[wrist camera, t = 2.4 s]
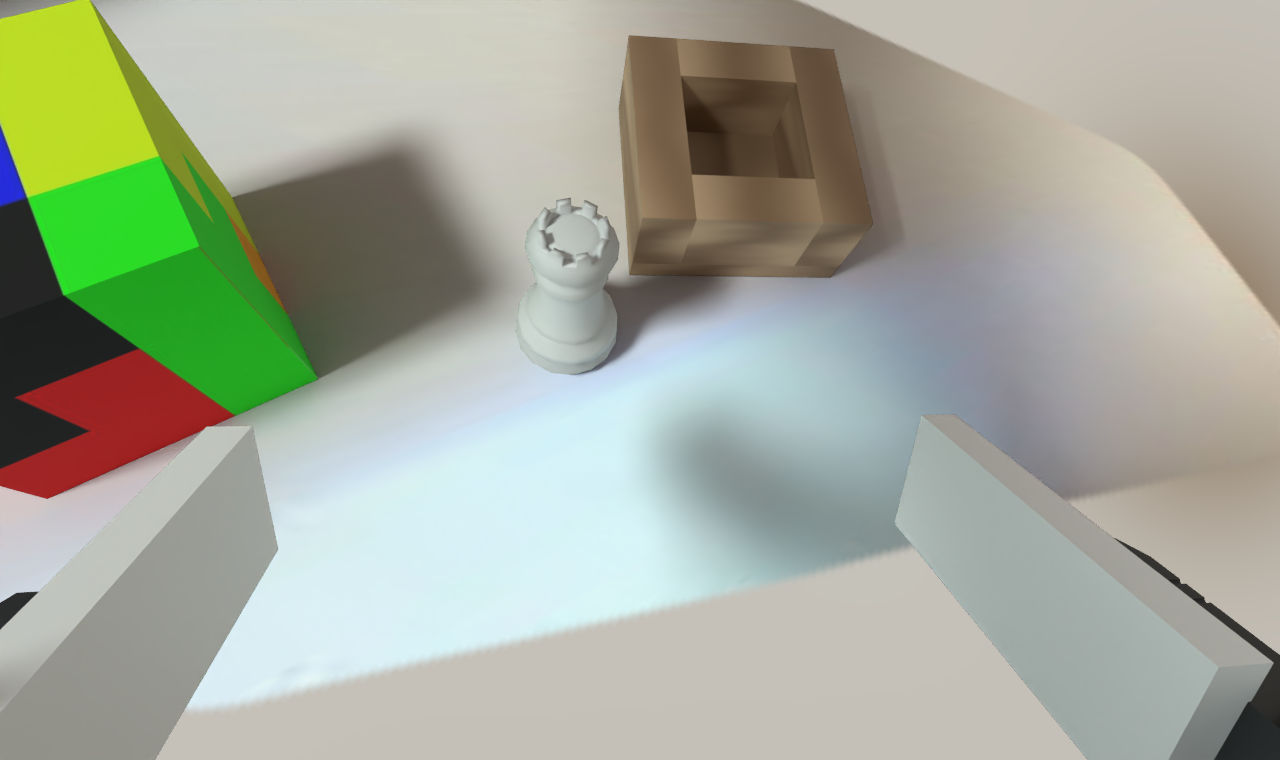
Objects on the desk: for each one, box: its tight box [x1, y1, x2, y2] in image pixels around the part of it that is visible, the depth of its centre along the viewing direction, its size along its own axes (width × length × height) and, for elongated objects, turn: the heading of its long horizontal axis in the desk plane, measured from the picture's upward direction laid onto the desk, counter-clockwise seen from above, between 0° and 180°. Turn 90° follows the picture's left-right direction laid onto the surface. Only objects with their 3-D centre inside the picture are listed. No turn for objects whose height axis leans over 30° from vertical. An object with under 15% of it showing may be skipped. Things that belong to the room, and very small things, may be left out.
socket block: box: [619, 35, 873, 277], centre depth 31 cm, size 10×10×4 cm
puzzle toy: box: [0, 0, 318, 499], centre depth 22 cm, size 10×10×10 cm
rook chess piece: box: [516, 198, 619, 375], centre depth 25 cm, size 4×4×8 cm
